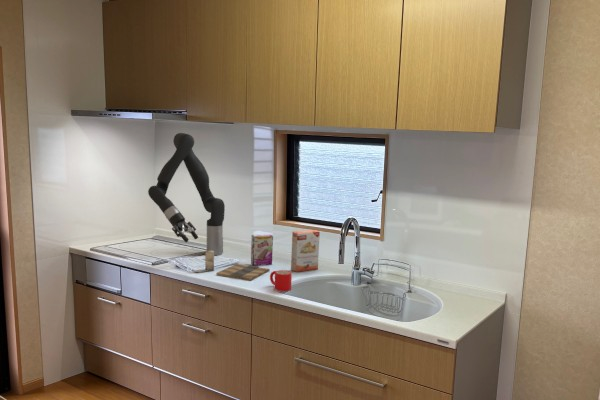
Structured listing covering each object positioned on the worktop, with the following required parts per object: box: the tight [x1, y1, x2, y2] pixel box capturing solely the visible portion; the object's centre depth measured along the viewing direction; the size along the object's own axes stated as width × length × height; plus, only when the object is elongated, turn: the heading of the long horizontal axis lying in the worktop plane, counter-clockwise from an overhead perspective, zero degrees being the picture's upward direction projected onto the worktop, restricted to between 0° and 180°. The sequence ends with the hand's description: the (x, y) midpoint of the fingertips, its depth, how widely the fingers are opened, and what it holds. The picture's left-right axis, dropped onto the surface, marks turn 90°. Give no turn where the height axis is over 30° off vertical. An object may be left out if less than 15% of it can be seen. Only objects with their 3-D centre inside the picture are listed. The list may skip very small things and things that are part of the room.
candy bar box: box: [250, 233, 274, 267], centre depth 292 cm, size 11×5×16 cm, turn 110°
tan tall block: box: [204, 250, 215, 272], centre depth 278 cm, size 4×4×10 cm
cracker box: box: [290, 229, 321, 273], centre depth 284 cm, size 14×6×21 cm, turn 121°
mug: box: [269, 269, 293, 292], centre depth 252 cm, size 8×12×8 cm, turn 54°
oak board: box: [216, 263, 270, 282], centre depth 275 cm, size 20×20×1 cm
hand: (192, 239), depth 281 cm, fingers open, 8 cm apart
